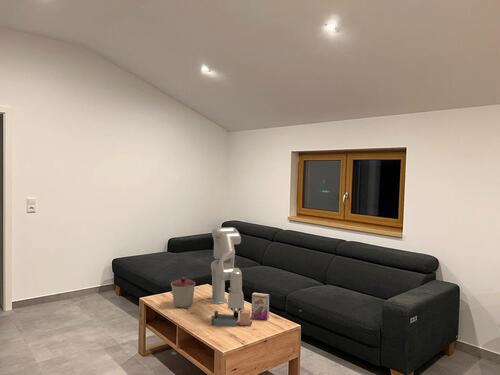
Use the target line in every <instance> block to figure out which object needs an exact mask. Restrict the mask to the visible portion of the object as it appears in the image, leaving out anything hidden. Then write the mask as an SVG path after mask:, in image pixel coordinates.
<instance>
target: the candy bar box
mask: <svg viewBox="0 0 500 375" xmlns="http://www.w3.org/2000/svg"><path fill="white" fill-rule="evenodd" d="M269 318H270V294H268V293H260V292H253V293H252V294H251V319H256V320H262V321H263V320H264V321H267V320H268V319H269Z"/></svg>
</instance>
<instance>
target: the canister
mask: <svg viewBox="0 0 500 375" xmlns="http://www.w3.org/2000/svg"><path fill="white" fill-rule="evenodd" d="M170 286H171V292H172V300H173V304H174V306H175V307H177V308H188V307H190V306H192V304H193V301H194V295H195V294H194V293H195V286H196V282H195V281H194V280H192V279H189V278H188V279H186V277H185V276H182V277H180V279H177V280H174V281H172V282H171V283H170Z"/></svg>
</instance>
